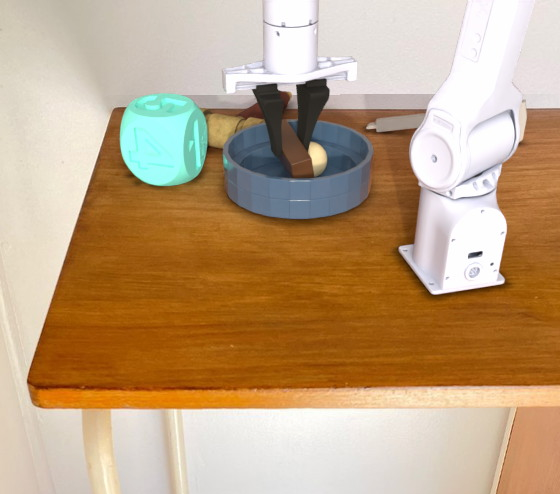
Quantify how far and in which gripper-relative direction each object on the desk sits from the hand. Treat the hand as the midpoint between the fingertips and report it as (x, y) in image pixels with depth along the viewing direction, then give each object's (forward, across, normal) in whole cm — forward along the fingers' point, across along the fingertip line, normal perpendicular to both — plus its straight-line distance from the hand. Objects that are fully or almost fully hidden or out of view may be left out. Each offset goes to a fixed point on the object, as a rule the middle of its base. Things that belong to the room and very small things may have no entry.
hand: (289, 151), depth 96 cm
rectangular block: (+1, 0, 0) cm, 1 cm away
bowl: (+5, -1, -1) cm, 5 cm away
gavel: (+5, -1, -20) cm, 21 cm away
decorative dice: (+5, +13, -10) cm, 17 cm away
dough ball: (+2, -3, -3) cm, 5 cm away
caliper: (+5, -24, -11) cm, 27 cm away
